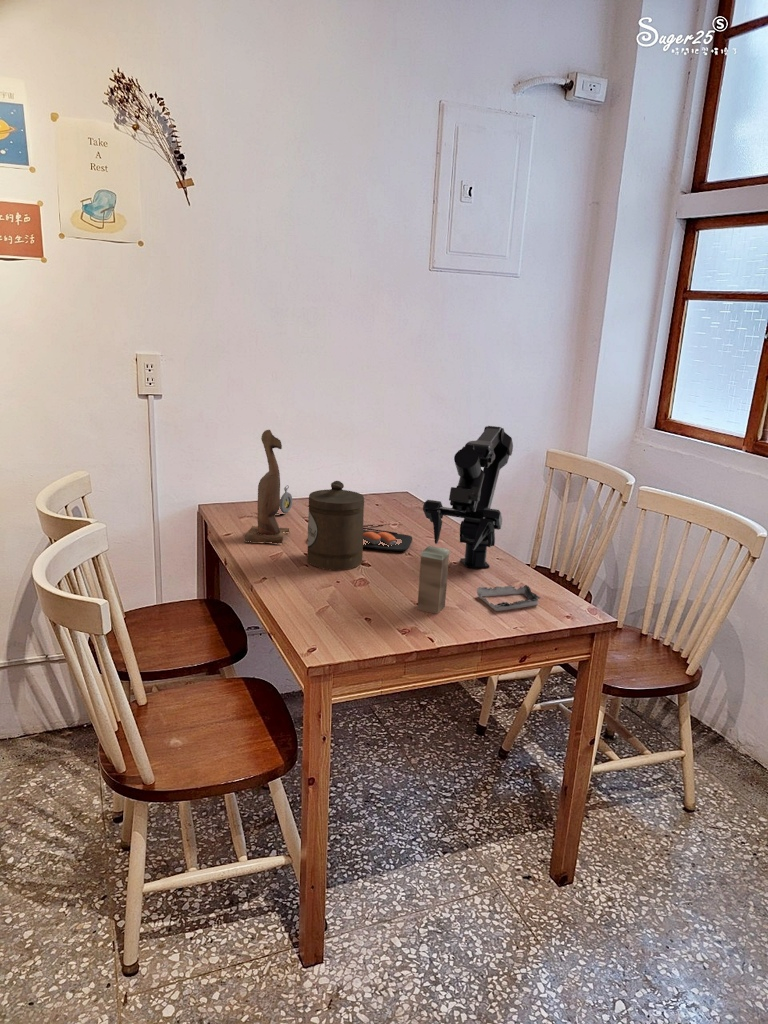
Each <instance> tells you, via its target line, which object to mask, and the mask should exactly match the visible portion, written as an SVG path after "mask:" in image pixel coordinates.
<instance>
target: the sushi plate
mask: <svg viewBox="0 0 768 1024" xmlns="http://www.w3.org/2000/svg"><path fill="white" fill-rule="evenodd" d="M373 525H374V524H365V525H364V524H363V539H364V540H366V541H368V543H369V542H370V543H369V544H368V543H366V542H365V543H366V545H365V544H364V545H363V548H367V549H368V548H369V549H377V550H384V551H385V550H386V551H397V552H398V551H400V552H403V551H404V552H405V551H407V550H408V549H409V548H410V546H411V545H412V541H413V537H412V536H411V535H408V534H402V533H398V532H394V531H388V530H381V529H374V528H369V527H368V526H371V527H374V526H373ZM366 529H367V530H366ZM396 539H401V540H402V543H400V544H399V545H398V544H396V542H397V540H396ZM380 541H381V542H383V543H385V544H387V545H389V547H388V546H387V545H384V546H383V545H382V544H380V545H378V544H379V543H380ZM395 544H396V545H395ZM391 545H392V546H391Z"/></svg>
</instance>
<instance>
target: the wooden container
mask: <svg viewBox="0 0 768 1024" xmlns="http://www.w3.org/2000/svg"><path fill="white" fill-rule="evenodd" d="M343 488H345V487H344V483H343V482H342V481H340V480H333V482H331V483H330V489H319V490H315V491H312V492H310V493H309V495H308V517H307V518H308V519H307V521H308V522H307V555H306V557H307V559H306V560H307V562H308V563H309V564H310V563H311V564H312V565H311V564H310V565H311V566H313V565H314V567H315V566H317V567H316V568H318V567H320V569H322V568H324V569H323V570H329V569H331V571H332V570H333V571H340V570H350V568H351V569H354V568H356V567H359V566H360V565H362V563H363V553H364V552H363V549H364V547H363V530H364V529H363V528H364V527H363V526H364V513H365V511H364V510H365V509H364V508H365V496H364V495H363V494H362V493H359V492H356V491H353V490H346V489H343Z"/></svg>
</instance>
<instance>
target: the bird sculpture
mask: <svg viewBox="0 0 768 1024" xmlns="http://www.w3.org/2000/svg"><path fill="white" fill-rule="evenodd" d="M260 439H261V442H262V445H263V448H264V451H265V455H266V458H267V464H268V471H267V472H266V473H265V474H264V475H262V477H261V478H260V480H259V482H258V484H257V485H258V486H257V526H255V525H252V526H251V527H250V529H248V531H247V532H246V533H245V534H244V538H243V540H244V542H245V541H247V542H246V543H248V541H249V543H251V542H264V543H265V542H272V543H277V544H278V543H282V544H283V540H284V537H285V534H287V533H286V532H289V533H291V532H290V528H289V527H280V526H279V523H278V521H277V519H276V515H275V514H276V513H277V512H278V510H279V508H280V500H281V475H280V468H279V464H278V461H277V458H276V455H275V452H274V450H273V449H279V450H282V449H283V446H282V442H281V439H279V438H278V437H276V436H275V435H273V432H272V430H271V429H266V430H264V431H263V432H262V434H261V438H260ZM283 532H285V533H283ZM250 541H251V542H250Z"/></svg>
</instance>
